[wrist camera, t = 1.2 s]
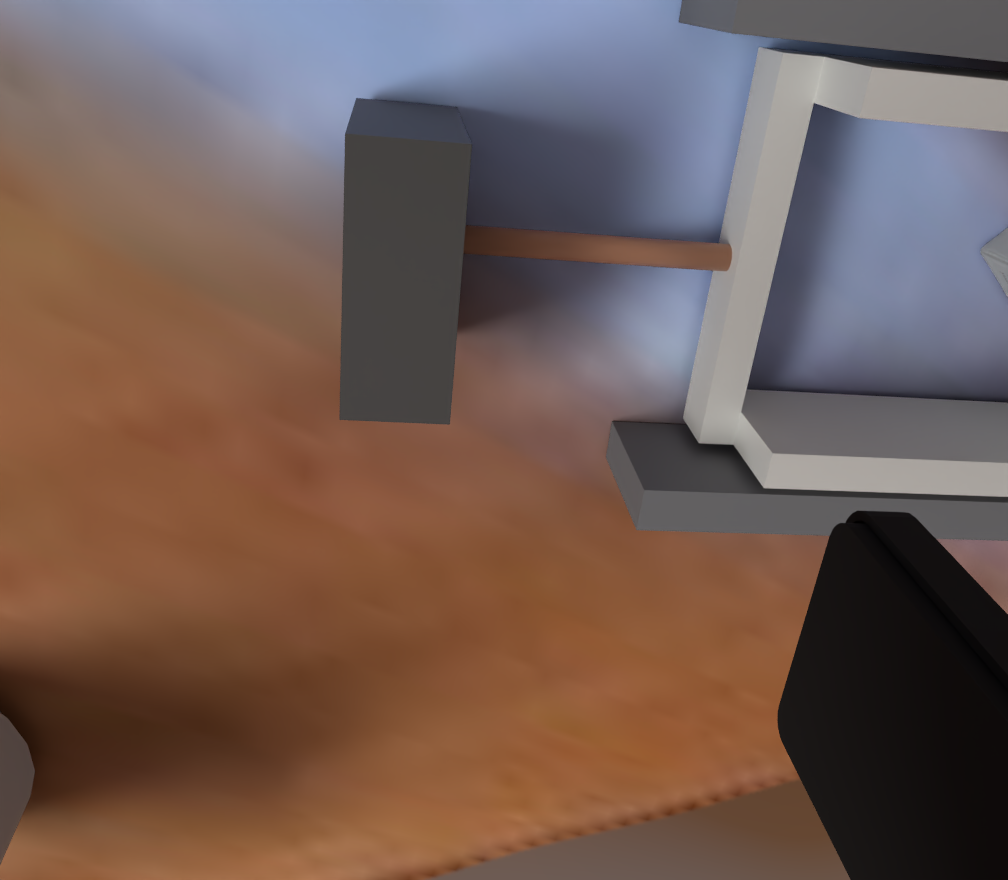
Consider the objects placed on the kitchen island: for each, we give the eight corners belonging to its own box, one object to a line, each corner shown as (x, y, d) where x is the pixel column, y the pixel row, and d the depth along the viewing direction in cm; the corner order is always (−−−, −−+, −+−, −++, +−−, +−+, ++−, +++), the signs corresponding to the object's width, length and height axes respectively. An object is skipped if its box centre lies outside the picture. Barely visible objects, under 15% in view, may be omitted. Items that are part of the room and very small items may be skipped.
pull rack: (358, 6, 21) (345, 19, 16) (1342, 106, 25) (1602, 146, 19) (348, 402, 26) (335, 517, 20) (1182, 440, 29) (1357, 547, 24)
